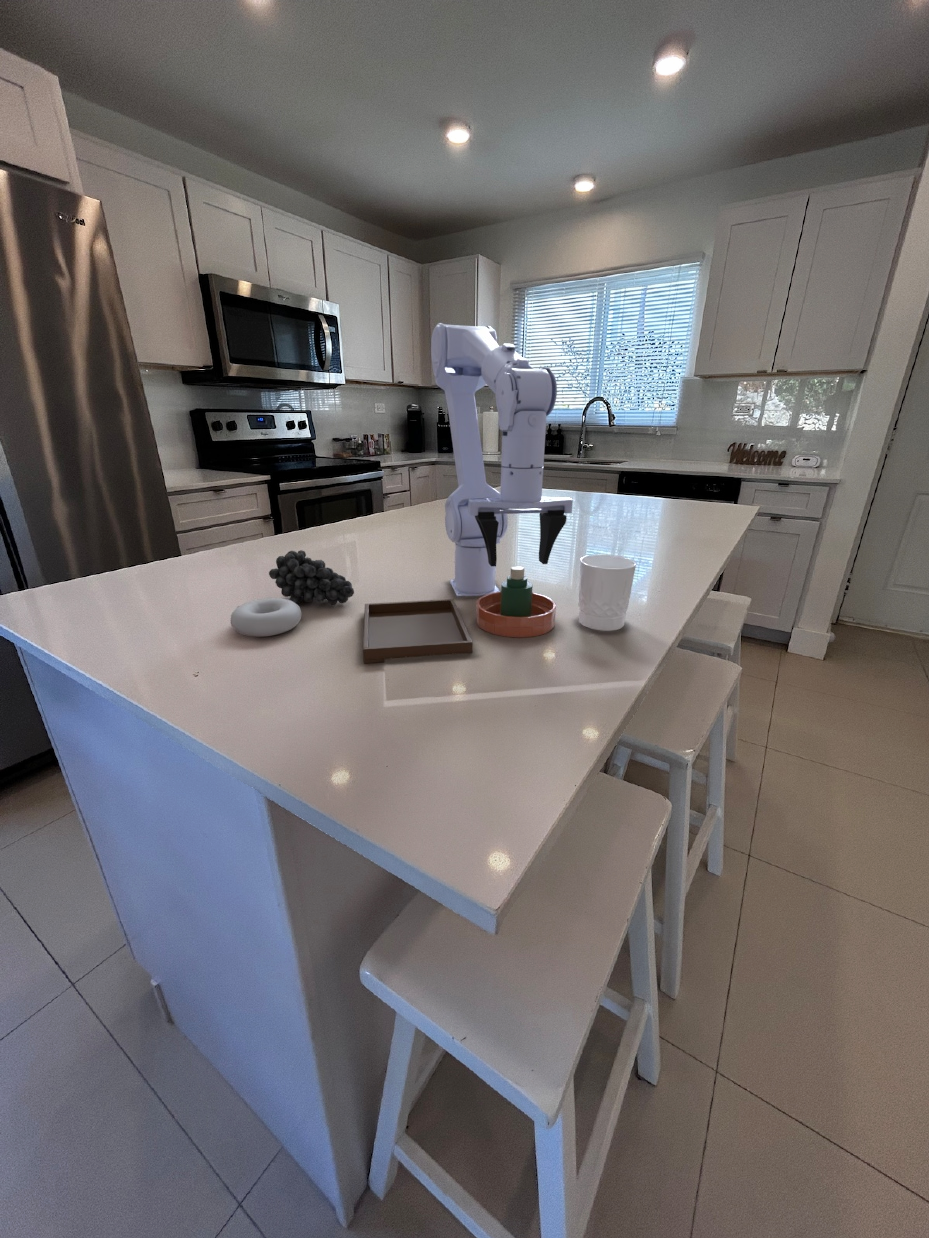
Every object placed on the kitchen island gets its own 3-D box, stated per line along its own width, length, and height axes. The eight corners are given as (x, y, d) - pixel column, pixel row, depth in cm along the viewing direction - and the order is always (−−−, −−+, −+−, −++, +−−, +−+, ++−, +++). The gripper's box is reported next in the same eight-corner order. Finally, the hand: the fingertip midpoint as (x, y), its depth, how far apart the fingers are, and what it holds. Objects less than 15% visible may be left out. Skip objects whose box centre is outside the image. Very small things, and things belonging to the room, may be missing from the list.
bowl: (470, 613, 82) (470, 592, 81) (540, 609, 84) (541, 589, 83) (485, 643, 71) (485, 620, 70) (565, 637, 73) (567, 615, 72)
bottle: (497, 617, 79) (498, 564, 76) (525, 615, 80) (528, 563, 77) (504, 628, 75) (506, 573, 72) (534, 626, 76) (537, 571, 73)
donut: (269, 646, 70) (316, 620, 79) (265, 623, 69) (314, 599, 77) (217, 634, 74) (268, 610, 83) (212, 612, 73) (264, 590, 81)
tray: (365, 615, 81) (364, 603, 80) (453, 610, 83) (453, 598, 83) (364, 663, 65) (362, 649, 65) (472, 655, 68) (472, 642, 67)
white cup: (629, 637, 74) (639, 570, 70) (574, 632, 75) (580, 567, 71) (625, 617, 81) (633, 556, 77) (574, 613, 82) (580, 553, 78)
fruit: (358, 551, 82) (286, 540, 88) (329, 579, 77) (253, 566, 82) (370, 593, 88) (301, 580, 93) (344, 623, 82) (272, 607, 88)
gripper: (475, 470, 64) (474, 573, 69) (584, 468, 66) (575, 568, 71) (465, 465, 71) (465, 559, 76) (565, 464, 73) (558, 556, 78)
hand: (517, 563), depth 74 cm, fingers open, 7 cm apart
